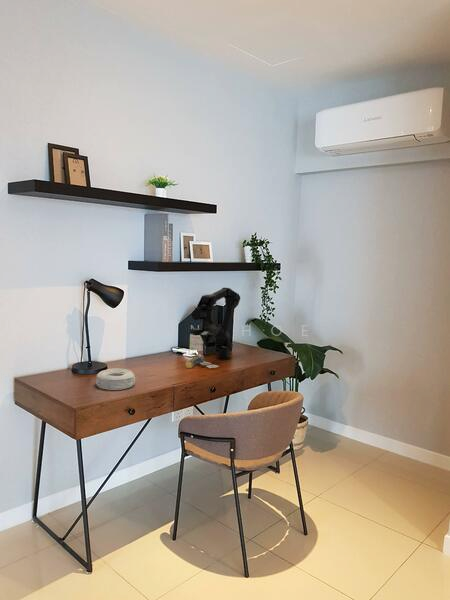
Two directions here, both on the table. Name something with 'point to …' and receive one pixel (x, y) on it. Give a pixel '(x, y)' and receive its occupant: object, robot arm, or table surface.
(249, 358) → the table surface
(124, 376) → the grey stone ring
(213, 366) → the label tile
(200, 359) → the swing arm
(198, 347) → the ink cartridge box
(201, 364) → the label tile
